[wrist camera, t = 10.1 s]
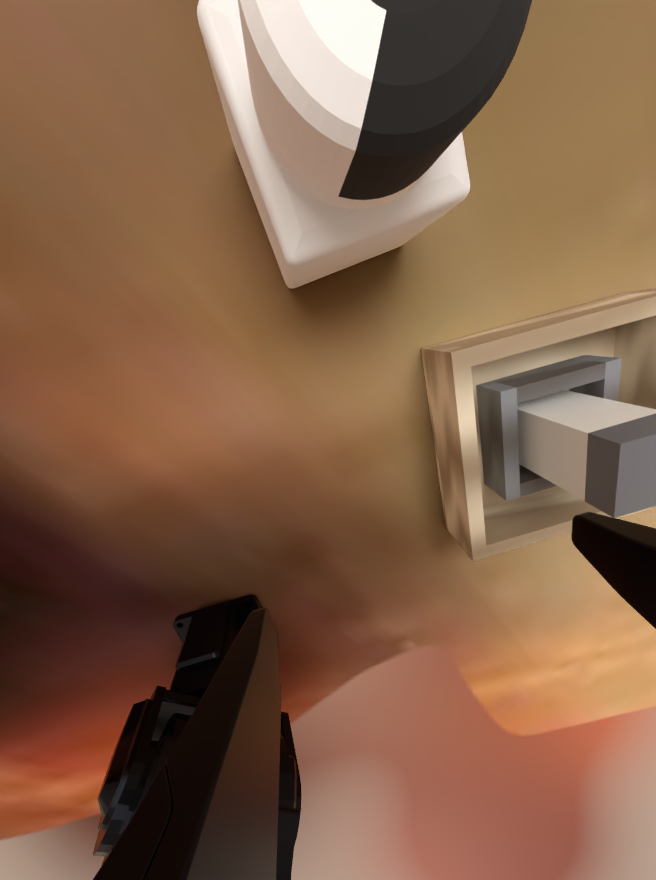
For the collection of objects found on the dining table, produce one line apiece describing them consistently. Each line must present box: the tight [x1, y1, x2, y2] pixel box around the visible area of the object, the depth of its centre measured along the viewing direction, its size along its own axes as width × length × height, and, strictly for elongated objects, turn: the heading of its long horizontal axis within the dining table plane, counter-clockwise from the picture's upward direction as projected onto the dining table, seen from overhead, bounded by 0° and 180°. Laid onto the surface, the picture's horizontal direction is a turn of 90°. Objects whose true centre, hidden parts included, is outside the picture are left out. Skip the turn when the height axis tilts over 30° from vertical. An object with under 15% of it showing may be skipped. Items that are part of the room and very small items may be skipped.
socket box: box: [421, 289, 656, 562], centre depth 21 cm, size 14×14×4 cm
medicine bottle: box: [197, 0, 532, 289], centre depth 11 cm, size 7×7×12 cm
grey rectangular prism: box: [517, 390, 656, 518], centre depth 18 cm, size 4×4×8 cm
